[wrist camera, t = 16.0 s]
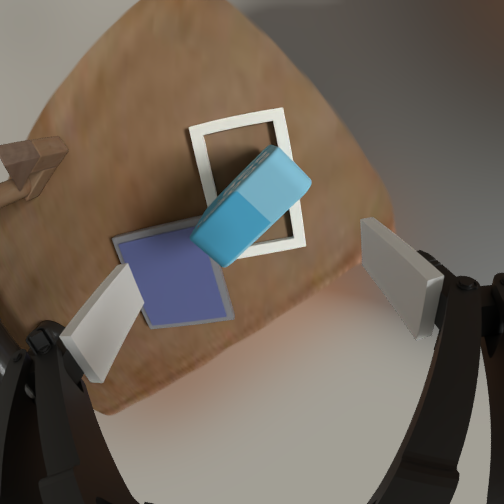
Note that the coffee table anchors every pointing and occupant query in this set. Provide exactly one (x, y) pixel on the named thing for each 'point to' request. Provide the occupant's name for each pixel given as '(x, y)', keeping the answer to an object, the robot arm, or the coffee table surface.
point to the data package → (250, 205)
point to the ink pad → (174, 275)
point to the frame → (208, 181)
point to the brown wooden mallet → (29, 167)
